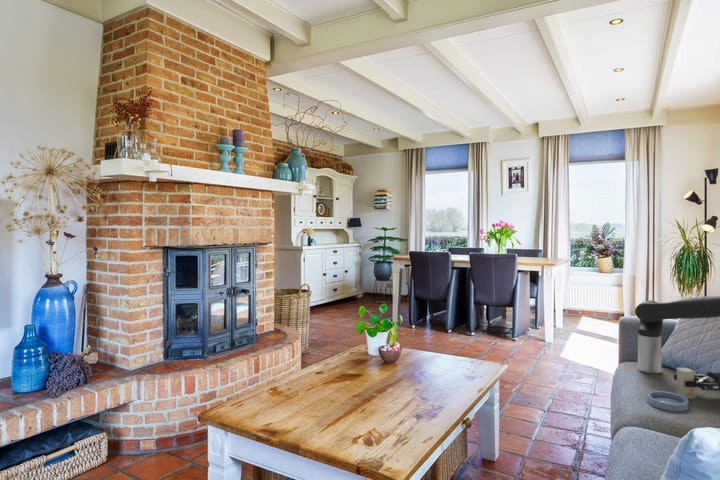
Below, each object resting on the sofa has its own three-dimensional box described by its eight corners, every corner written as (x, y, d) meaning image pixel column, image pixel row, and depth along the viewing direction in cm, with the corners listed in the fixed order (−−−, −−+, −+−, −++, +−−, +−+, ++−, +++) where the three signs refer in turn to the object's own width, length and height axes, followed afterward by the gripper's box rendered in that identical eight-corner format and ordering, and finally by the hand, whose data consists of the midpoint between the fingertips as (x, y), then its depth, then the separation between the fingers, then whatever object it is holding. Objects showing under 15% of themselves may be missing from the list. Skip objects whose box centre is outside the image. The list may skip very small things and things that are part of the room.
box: (695, 399, 173) (695, 372, 173) (682, 398, 174) (682, 371, 174) (687, 393, 179) (687, 367, 178) (676, 393, 180) (676, 367, 179)
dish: (641, 396, 177) (641, 390, 177) (675, 397, 176) (675, 391, 176) (658, 410, 165) (658, 404, 164) (695, 411, 163) (695, 405, 163)
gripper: (712, 365, 181) (669, 365, 183) (737, 378, 167) (690, 377, 169) (712, 383, 181) (669, 382, 184) (737, 397, 167) (690, 396, 170)
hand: (679, 380), depth 176 cm, fingers open, 7 cm apart
